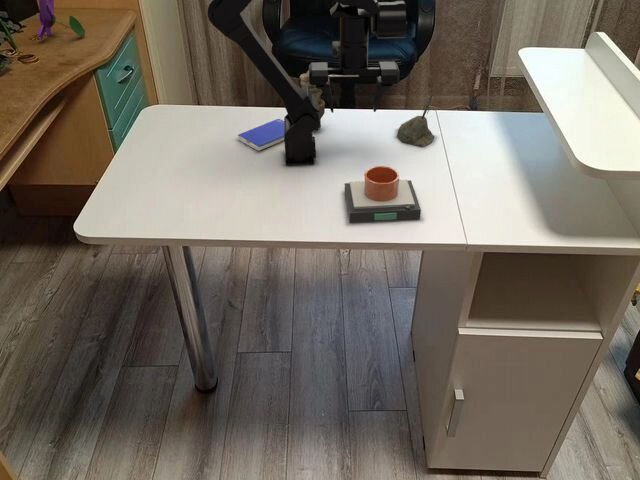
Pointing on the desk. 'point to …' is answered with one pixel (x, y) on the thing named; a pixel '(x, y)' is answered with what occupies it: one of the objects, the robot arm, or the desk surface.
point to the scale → (381, 204)
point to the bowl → (381, 183)
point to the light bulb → (315, 92)
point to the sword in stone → (416, 130)
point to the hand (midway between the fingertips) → (353, 111)
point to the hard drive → (264, 135)
